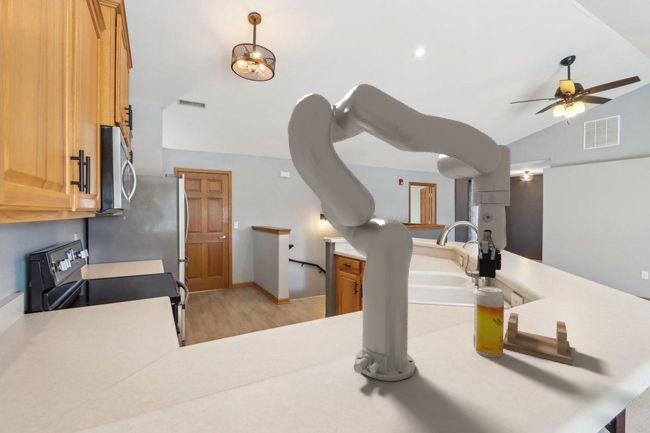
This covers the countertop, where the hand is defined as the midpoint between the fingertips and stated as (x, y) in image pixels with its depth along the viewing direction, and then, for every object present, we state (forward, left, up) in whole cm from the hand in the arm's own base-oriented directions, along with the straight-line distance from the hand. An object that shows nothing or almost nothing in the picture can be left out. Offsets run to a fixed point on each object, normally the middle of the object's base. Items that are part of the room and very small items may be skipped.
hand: (490, 273), depth 69 cm
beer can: (0, 0, -19) cm, 19 cm away
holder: (+10, -9, -19) cm, 23 cm away
